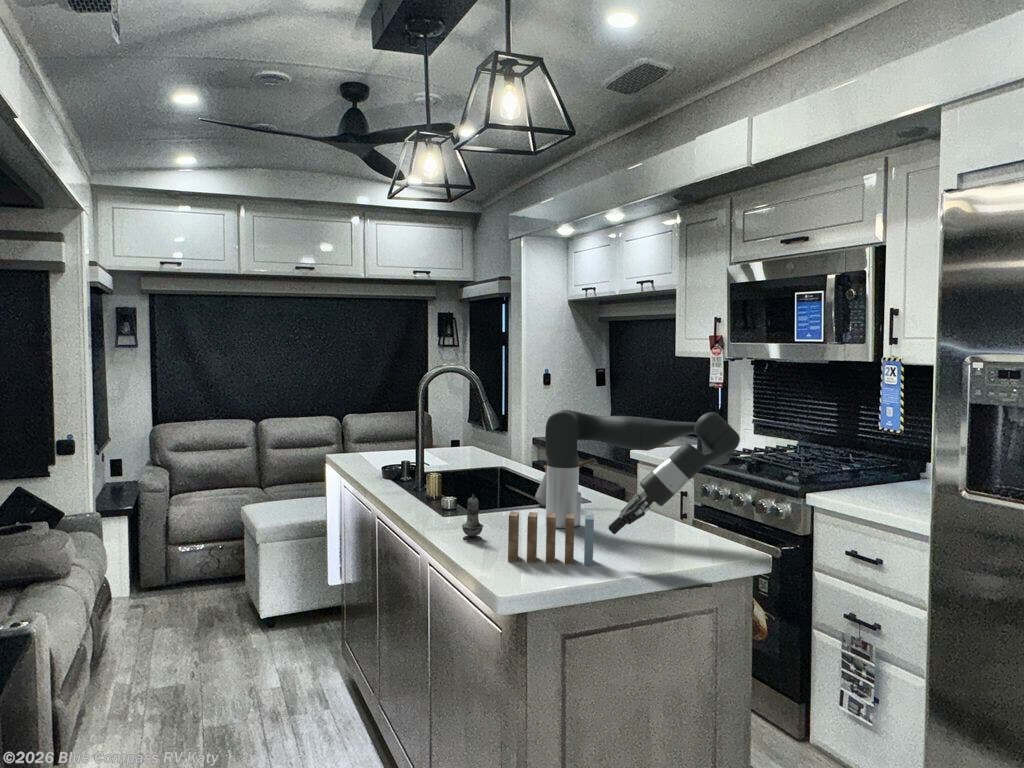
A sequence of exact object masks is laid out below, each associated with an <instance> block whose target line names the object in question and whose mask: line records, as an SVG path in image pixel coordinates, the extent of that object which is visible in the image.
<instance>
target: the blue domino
mask: <svg viewBox="0 0 1024 768" xmlns="http://www.w3.org/2000/svg"><path fill="white" fill-rule="evenodd" d="M584 515H585V516H584V522H585V523H584V547H583V548H584V550H583V551H584V552H583V553H584V555H583V556H584V557H583V560H584V561H583V566H586V565H593V566H594V532H595V531H594V530H595V517H594V516H595V515H594V514H584Z"/></svg>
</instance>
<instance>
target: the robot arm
mask: <svg viewBox="0 0 1024 768" xmlns="http://www.w3.org/2000/svg"><path fill="white" fill-rule="evenodd" d="M544 434H545V439H544V441H545V458H546V465H547V489H546V507H545V525H547V514H548V513H556V529H557V528H559V529H565V528H566V514H575V518H574V528H575V527H577V526H578V527H579V526H581V517H582V516H581V515H582V511H581V510H582V507H581V506H582V493H581V492H580V491H579V483H580V482H579V479H580V478H579V477H580V476H579V475H580V468H579V464H580V457H579V453H578V441H596V442H600V443H604V444H608V445H611V446H614V447H618V448H622V449H628V450H635V451H646V452H647V451H651V450H654V449H656V448H659V447H661V446H663V445H665V444H667V443H669V442H672V441H673V440H675V439H677V438H681V437H684V436H688V435H696V436H697V441H696V443H697V444H696V447H695V446H693V445H692V444H691V443H687V442H686V443H682V445H680V446H679V448H677V449H675V451H674V452H673V453H672V454H671V455H669V457H667V458H666V459H665V460H663V461H661V462H660V463H659V464H658V465H657V466H656V467H655V468H654V469H653V470H652V471H650V473H649V474H647V475H646V476H645V477H644V478H643V479H642V480H641V481H640V482H639V485H640V487H641V488H642V489H643V491H642V492H641V493H636V494H635V495H634V496H632V497H631V499H630V500H629V502H628V503H626V505H625V506H624V507H623V509H621V510H620V513H619V515H618V517H616V519H615V520H613V521H612V522H610V524H609V525H608V530H609V531H610V532H611V534H613V535H616V534H617V533H618V532H619V531H621V529H622V528H624V527H625V526H628V525H631V524H633V523H634V522H636V521H638V520H639V519H641V518H642V517H644V516H645V514H646V513H647V512H649V510H650V509H651V507H650V506H651V505H652V504H653V503H654V502H655V503H656V505H658V506H659V507H663V506H664V505H665V504H666V503H668V502H669V500H671V499H672V498H673V497H674V496H675V495H676V494H677V493H679V492H680V491H681V490H682V489H683V487H685V485H686V484H687V483H688V482H689V481H690V480H691V479H692V478H693V477H695V476H696V474H698V473H699V472H700V471H701V470H702V469H704V468H705V467H706V466H708V465H719V466H720V465H725V464H726V465H727V464H728V462H730V459H731V458H732V452H734V451H735V450H736V449H737V448H738V446H739V444H740V443H741V437H740V434H739V433H738V432H737V431H736V430H735V429H734V428H733V427H732V426H731V425H730V424H729V423H728V422H727V421H726V420H725V419H724V418H723V417H722V416H721V415H720V414H719V413H717V412H715V411H711V412H710V411H709V412H706V413H704V414H702V415H701V416H700V417H699V418H698V419H697V421H696V422H695V421H694V422H693V421H673V420H664V419H658V418H657V419H656V418H649V417H640V416H629V415H627V416H626V415H595V414H589V413H584V412H579V411H574V410H571V409H562V410H558V411H555V412H554V413H552V414H550V416H549V417H548V418H547V421H546V424H545V433H544Z"/></svg>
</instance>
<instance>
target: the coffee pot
mask: <svg viewBox="0 0 1024 768" xmlns="http://www.w3.org/2000/svg"><path fill="white" fill-rule="evenodd" d="M591 462H592V463H593V464H595V465H596V464H598V462H597V460H596V459H595V458H594V457H593V458H590V459H587V460H586V461H583V462H581V463H579V469H581V468H584V467H585V466H586V465H587V464H590V463H591ZM543 468H544V470H545V472H544V475H543V477H542V478H541V482H540V484H539V486H538V488H537V491H536V493H535V496H534V497H535V500H536V501H537V503H539V504H540V506H542V507H545V508H546V489H547V464H546V465H545V464H544V465H543Z"/></svg>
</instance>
